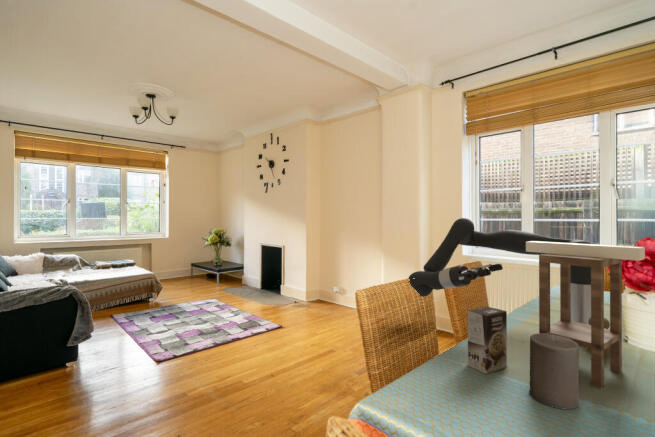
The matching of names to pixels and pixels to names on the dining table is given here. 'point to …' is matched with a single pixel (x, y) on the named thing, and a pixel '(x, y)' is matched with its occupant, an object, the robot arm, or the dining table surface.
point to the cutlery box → (587, 250)
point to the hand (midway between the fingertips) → (495, 268)
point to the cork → (606, 326)
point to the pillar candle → (554, 370)
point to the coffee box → (487, 339)
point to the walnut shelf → (594, 333)
